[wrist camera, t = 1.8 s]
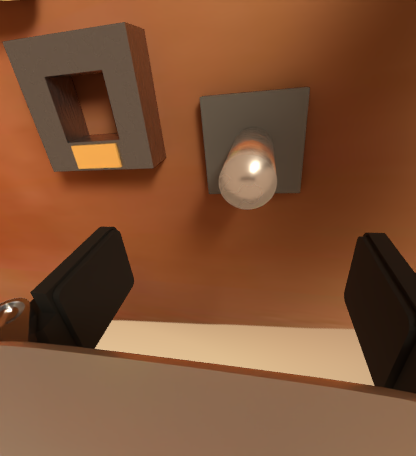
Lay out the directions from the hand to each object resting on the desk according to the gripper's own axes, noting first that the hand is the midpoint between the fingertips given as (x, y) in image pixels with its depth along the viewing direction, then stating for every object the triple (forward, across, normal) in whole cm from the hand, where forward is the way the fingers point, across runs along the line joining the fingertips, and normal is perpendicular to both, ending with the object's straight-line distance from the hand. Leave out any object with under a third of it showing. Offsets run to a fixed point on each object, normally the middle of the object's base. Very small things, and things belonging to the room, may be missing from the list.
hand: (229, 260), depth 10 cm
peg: (+19, 0, 0) cm, 19 cm away
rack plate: (+20, +16, -5) cm, 26 cm away
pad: (+20, 0, 0) cm, 20 cm away
